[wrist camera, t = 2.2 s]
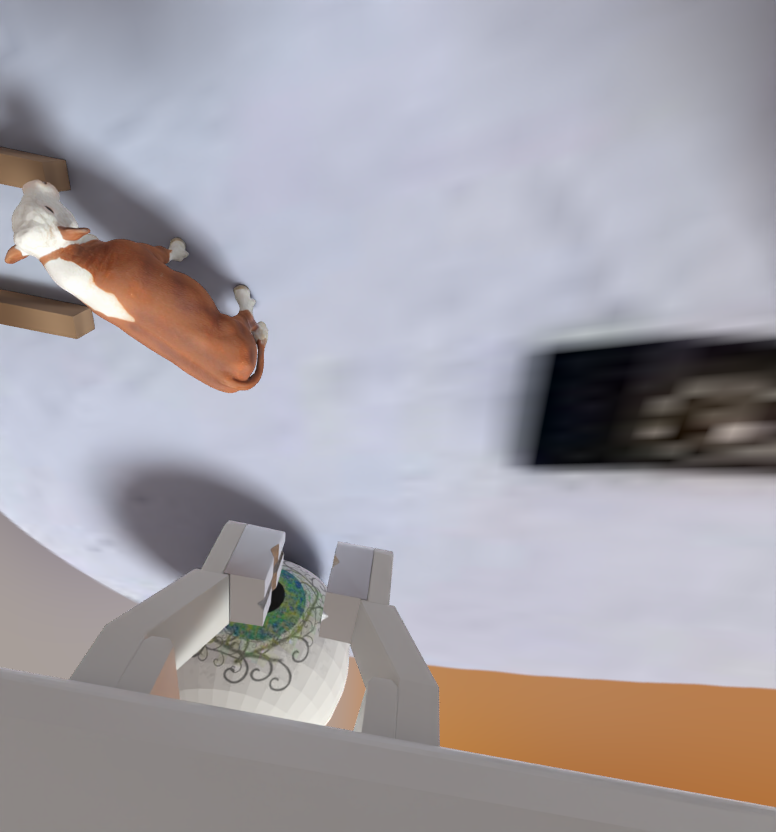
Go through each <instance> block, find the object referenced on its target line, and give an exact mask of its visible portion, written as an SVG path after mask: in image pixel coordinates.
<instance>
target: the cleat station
mask: <svg viewBox="0 0 776 832" xmlns="http://www.w3.org/2000/svg"><path fill="white" fill-rule="evenodd" d="M33 180H40V181H43V182H48V183H50V184H52V185H53V186H54V187H55V188H56V189H57V191H58V192H61V191H67V190H71V189H70V183H69V177H68V172H67V166H66V160H62V159H57V158H52V157H47V156H42V155H37V154H33V153H28V152H23V151H18V150H13V149H9V148H4V147H0V184H4V185H9V186H14V187H19V188H23V185H24V184H26V183H27V182H29V181H33ZM0 324H4V325H9V326H14V327H19V328H24V329H29V330H34V331H39V332H44V333H49V334H54V335H59V336H64V337H69V338H75V339H78V338H80V337H82V336H83V335H85V334H87V333H89V332H90V331H92V330H94V329H95V326H94V320H93V315H92V310H91V309H90V308H89V307H87V306H82V305H77V304H72V303H67V302H62V301H57V300H52V299H47V298H42V297H37V296H32V295H27V294H22V293H17V292H12V291H7V290H2V289H0Z"/></svg>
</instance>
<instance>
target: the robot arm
mask: <svg viewBox="0 0 776 832" xmlns="http://www.w3.org/2000/svg"><path fill="white" fill-rule="evenodd" d="M284 543H285V532H283V531H279V530H274V529H270V528H265V527H261V526H256V525H251V524H246V523H241V522H236V521H231V520H229V521H228V522H227V523H226V524H225V525H224V527H223V529H222V531H221V533H220V534H219V536H218V538H217V540H216V542H215V544H214V546H213V548H212V549H211V551H210V553H209V555H208V557H207V559H206V561H205V562H204V564H203V566H202V568H201V569H193V570H192V571H190V572H189V573H187V574H186V575H184V576H182V577H181V578H179V579H178V580H176V581H174V582H173V583H171V584H170V585H168V586H167V587H165V588H163V589H162V590H160V591H159V592H157V593H155V594H154V595H152V596H151V597H149V598H148V599H146V600H144V601H143V602H141V603H140V604H138V605H136V606H135V607H133V608H132V609H130V610H129V611H127V612H125V613H124V614H122V615H121V616H119V617H118V618H116V619H114V620H113V621H111V622H110V623H108V624H106V625H105V626H104V628H103V630H102V631H101V632H100V634H99V635H98V637H97V638H96V640H95V641H94V643H93V644H92V646H91V647H90V649H89V650H88V652H87V653H86V655H85V656H84V658H83V659H82V661H81V662H80V664H79V665H78V667H77V668H76V670H75V671H74V673H73V674H72V676H71V677H70V679H63V678H58V677H52V676H46V675H41V674H35V673H30V672H25V671H18V670H13V669H8V668H2V667H0V832H776V807H770V806H765V805H760V804H754V803H748V802H743V801H737V800H732V799H726V798H721V797H715V796H710V795H704V794H699V793H693V792H688V791H682V790H676V789H671V788H665V787H660V786H654V785H649V784H643V783H638V782H632V781H627V780H621V779H615V778H610V777H605V776H599V775H594V774H587V773H582V772H577V771H571V770H565V769H560V768H555V767H549V766H544V765H538V764H533V763H527V762H522V761H516V760H510V759H505V758H499V757H494V756H488V755H483V754H477V753H472V752H466V751H461V750H455V749H450V748H444V747H440V746H439V745H440V742H439V741H440V740H439V687H438V685H437V683H436V681H435V679H434V678H433V676H432V674H431V672H430V670H429V669H428V667H427V665H426V663H425V661H424V659H423V657H422V656H421V654H420V652H419V650H418V648H417V646H416V645H415V643H414V641H413V639H412V637H411V635H410V634H409V632H408V630H407V628H406V626H405V624H404V623H403V621H402V619H401V617H400V615H399V613H398V612H397V610H396V608H395V606H392V605H389V600H390V589H391V578H392V567H393V556H394V555H393V552H392V551H387V550H381V549H376V548H375V549H374V548H372V547H366V546H361V545H355V544H350V543H344V542H338V543H337V547H336V551H335V556H334V561H333V566H332V569H331V573H330V577H329V582H328V586H327V590H326V596H325V601H324V607H323V614H322V619H321V624H320V631H319V637H322V638H326V639H331V640H336V641H340V642H345V643H349V644H351V645H350V646H351V649H352V652H353V654H354V657H355V660H356V663H357V665H358V668H359V671H360V674H361V676H362V679H363V682H364V684H365V687H366V691H365V694H364V697H363V701H362V704H361V708H360V710H359V714H358V717H357V721H356V724H355V727H354V730H353V731H350V730H345V729H340V728H334V727H329V726H323V725H318V724H312V723H307V722H301V721H296V720H290V719H285V718H279V717H274V716H268V715H262V714H257V713H251V712H246V711H240V710H235V709H229V708H224V707H218V706H213V705H207V704H201V703H196V702H190V701H185V700H180V696H179V687H178V679H177V670H178V669H179V668H180V667H181V666H182V665H183V664H184V663H185V662H186V661H188V660H189V659H190V658H191V657H192V656H193V655H194V654H195V653H196V652H198V651H199V650H200V649H201V648H202V647H203V646H204V645H205V644H207V643H208V642H209V641H210V640H211V639H212V638H213V637H214V636H215V635H217V634H218V633H219V632H220V631H221V630H222V629H223V628H224V627H225V626H227V625H228V624H229V621H231V622H238V623H244V624H250V625H257V626H263V624H264V621H265V618H266V615H267V612H268V609H269V607H270V604H271V593H272V591H273V590H274V589H276V586H277V583H278V580H279V577H280V573H281V569H282V564H283V558H284V552H283V551H282V548H283V546H284Z"/></svg>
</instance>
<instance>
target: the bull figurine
mask: <svg viewBox="0 0 776 832" xmlns="http://www.w3.org/2000/svg"><path fill="white" fill-rule="evenodd" d="M22 190H23V193H24V195H23V197H22V200H21V202H20V203H19V205H18V206H17V207H16V209H15V210H14V213H13V215H12V229H13V231H14V243H15V244H16V245H14V246H12V247H11V248H10V249H9V250H8V252H7V254H6V257H5V262H6V263H9V264H13V263H15V262H17V261H19V260H21V259H24V258H26V257H27V256H29V255H32V256H34V257H36V258H37V259H39V261H40V262H41V263H42V264H43V266H44V267H45V269H46V270H47V272H48V273H49V275H50V276H51V278H52V279H53V280H54V281H55V282H56V283H57V284H58V285H59V286H60V287H61V288H62V289H64V290H66V291H67V292H69V293H71V294H72V295H74V296H75V297H77V298H78V299H79V300H80V301H82V302H83V303H84V304H85V305H86V306H87V307H89V308H90V309H91V310H92V311H93V312H94V313H95V314H97V315H98V316H100V317H101V318H103V319H105V320H107V321H108V322H110V323H112V324H114V325H116V326H117V327H119V328H120V329H122V330H123V331H124V332H126V333H127V334H128V335H130V336H131V337H133V338H134V339H136V340H137V341H139V342H140V343H142V344H143V345H145V346H146V347H148V348H149V349H151V350H152V351H154V352H156V353H157V354H159V355H161V356H162V357H164V358H166V359H167V360H169V361H171V362H172V363H174V364H175V365H177V366H178V367H179V368H181V369H182V370H183V371H185V372H186V373H188V374H189V375H191V376H193V377H194V378H196V379H198V380H199V381H201V382H203V383H205V384H207V385H208V386H210V387H212V388H214V389H217V390H220V391H222V392H227V393H234V392H237V391H239V390H249V389H251V388H252V387H254V386H255V385H256V384H257V383H258V382H259V380H260V378H261V376H262V373H263V367H264V348H265V345H266V342H267V338H268V329H267V328H266V325H265V324H264V323H263V322H258V323H256V322H255V320H254V318H253V313H252V311H253V307H254V304H255V300H254V299H251V298H250V291H249V289H248V288H247V287H246V286H243V285H238V286H236V287H235V288H234V294H235V299H236V301H237V302H238V304H239V307H240V311H239V313H238V314H237V315H236V316H234V317H230V316H228V315H225V314H222V313H220V312H219V311H218V309H217V307H216V305H215V303H214V302H213V300H212V298H211V297H210V295H209V294H208V293H207V291H206V290H205V289H204V288H203V287H202V286H201V285H200V284H199V283H198V282H197V281H195V280H194V279H192V278H191V277H189V276H187V275H185V274H183V273H180V272H177V271H174V270H172V269H170V268H169V267H168V266H166V265H165V264H166V263H168V262H170V261H171V260H176V261H179V262H180V261H182V260H183V258H186V257H187V256H188V255H189V253H188V252H186V251H185V247H186V245H185V243H184V241H183V240H182V239H180V238H174V239H172V240H171V241H170V247H169V249H166V248H164V247H162V246H154V247H153V246H151V245H148V244H145V243H136V242H133V241H130V240H125V239H115V240H111V241H108V242H103V241H100V240H99V239H98V238H97V237H96V236H94V235H92V234H88V233H90V230H89V229H88V228H79V227H78V223H77V222H76V220H75V218H74V216H73V215H72V213H71V212H70V211H69V210H68V209H67V208H65V207H64V206H63V205H62V204H61V203H60V202H59V199H60V195H59V192H58V191H57V189H56V188H55V187H54V186H53V185H52V184H50V183H48V182H43V181H40V180H33V181H29V182H27V183H26V184H24V185H23V188H22ZM251 333H252V334H251ZM256 344H257V346H256ZM257 347H258V359H257ZM256 360H257V366H256V371H255V373H254V374H253V375H252V376H250V375H251V374H252V372H253V370H254V368H255V365H256Z"/></svg>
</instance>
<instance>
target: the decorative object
mask: <svg viewBox="0 0 776 832" xmlns="http://www.w3.org/2000/svg"><path fill="white" fill-rule="evenodd" d="M326 590H327V586H326V585H325V584H324V583H323V582H322V581H321V580H320V579H319V578H318V577H317V576H316V575H314V574H313V573H312V572H310V571H308V570H307V569H305V568H303V567H301V566H299V565H297V564H295V563H292V562H290V561H286V560H283V564H282V569H281V573H280V577H279V580H278V583H277V586H276V589H274V590H273V591H272V593H271V604H270V607H269V609H268V612H267V615H266V618H265V621H264V624H263V626H257V625H250V624H244V623H238V622H231V621H229V624H228V625H227V626H225V627H224V628H223V629H222V630H221V631H220V632H219V633H218V634H217V635H215V636H214V637H213V638H212V639H211V640H210V641H209V642H208V643H207V644H205V645H204V646H203V647H202V648H201V649H200V650H199V651H198V652H196V653H195V654H194V655H193V656H192V657H191V658H190V659H189V660H188V661H186V662H185V663H184V664H183V665H182V666H181V667H180V668H179V669H178V670H177V679H178V687H179V696H180V700H185V701H190V702H196V703H201V704H207V705H213V706H218V707H224V708H229V709H235V710H240V711H246V712H251V713H257V714H262V715H268V716H274V717H279V718H285V719H290V720H296V721H301V722H307V723H312V724H318V725H323V726H326V724H327V723H328V721H329V720H330V719H331V717H332V714H333V712H334V710H335V708H336V706H337V704H338V702H339V700H340V697H341V695H342V693H343V690H344V686H345V682H346V679H347V675H348V665H349V664H348V663H349V647H350V644H349V643H345V642H340V641H336V640H331V639H326V638H322V637H319V631H320V624H321V619H322V614H323V607H324V601H325V596H326Z"/></svg>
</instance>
